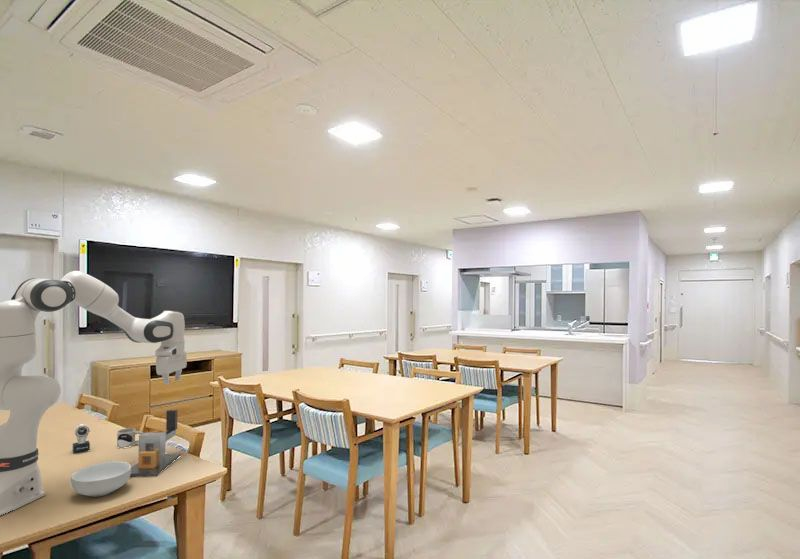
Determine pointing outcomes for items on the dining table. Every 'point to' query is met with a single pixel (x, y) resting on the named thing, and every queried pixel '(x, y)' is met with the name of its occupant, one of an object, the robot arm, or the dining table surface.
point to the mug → (127, 437)
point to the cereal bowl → (100, 478)
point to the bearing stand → (162, 458)
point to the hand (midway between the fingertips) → (172, 382)
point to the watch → (81, 439)
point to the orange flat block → (142, 459)
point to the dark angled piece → (170, 425)
